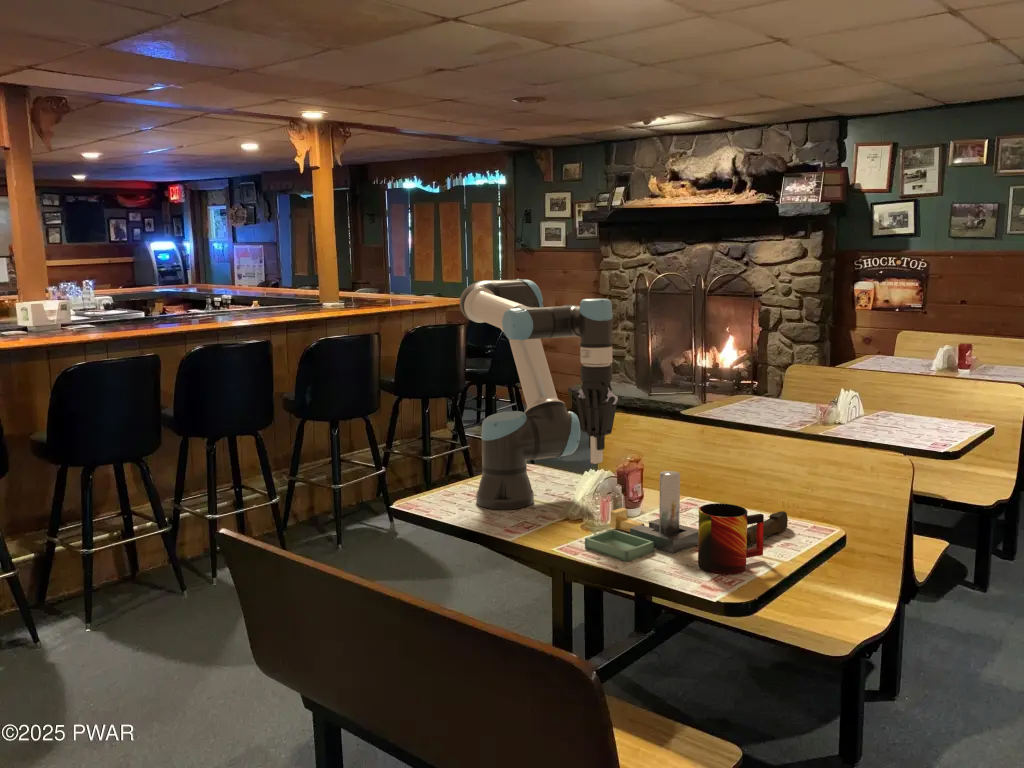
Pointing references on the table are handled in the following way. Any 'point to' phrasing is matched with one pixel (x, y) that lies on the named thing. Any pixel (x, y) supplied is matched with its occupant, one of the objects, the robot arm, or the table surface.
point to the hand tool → (769, 527)
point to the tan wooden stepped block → (622, 520)
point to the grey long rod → (669, 503)
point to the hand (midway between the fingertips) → (596, 462)
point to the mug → (726, 538)
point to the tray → (619, 545)
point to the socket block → (667, 537)
